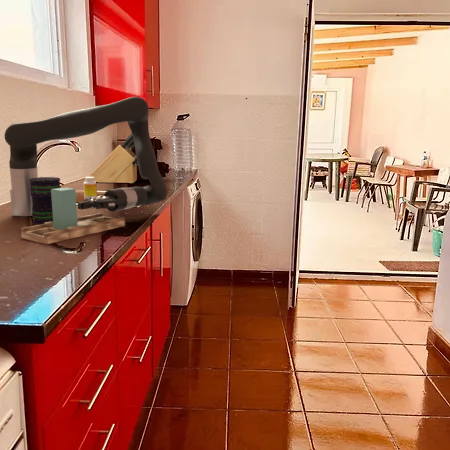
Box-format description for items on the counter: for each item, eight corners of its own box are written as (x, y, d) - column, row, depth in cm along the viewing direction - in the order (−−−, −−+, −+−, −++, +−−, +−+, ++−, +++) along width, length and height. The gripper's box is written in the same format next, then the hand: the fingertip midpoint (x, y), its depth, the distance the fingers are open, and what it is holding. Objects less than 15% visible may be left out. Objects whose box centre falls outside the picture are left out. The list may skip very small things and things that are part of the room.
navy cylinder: (32, 220, 162) (28, 177, 159) (61, 218, 166) (59, 176, 163) (33, 225, 153) (29, 181, 150) (64, 223, 157) (61, 179, 154)
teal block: (67, 225, 146) (64, 187, 143) (77, 227, 143) (75, 188, 140) (53, 228, 142) (50, 189, 139) (64, 230, 139) (61, 190, 136)
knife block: (149, 183, 262) (148, 128, 255) (87, 183, 262) (84, 127, 255) (152, 181, 273) (151, 127, 266) (93, 180, 273) (90, 127, 266)
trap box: (100, 221, 161) (100, 212, 161) (125, 225, 155) (124, 216, 154) (21, 238, 137) (20, 227, 137) (46, 244, 131) (45, 232, 130)
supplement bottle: (98, 200, 204) (97, 177, 201) (85, 201, 201) (84, 178, 199) (96, 198, 208) (94, 176, 206) (83, 199, 206) (82, 176, 204)
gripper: (107, 186, 162) (65, 192, 148) (134, 190, 155) (92, 196, 141) (108, 207, 164) (66, 215, 150) (134, 211, 157) (93, 220, 143)
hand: (79, 206), depth 146 cm, fingers closed
